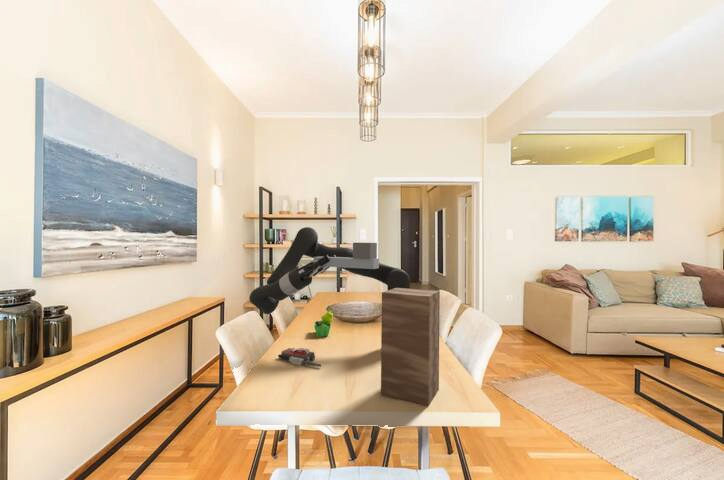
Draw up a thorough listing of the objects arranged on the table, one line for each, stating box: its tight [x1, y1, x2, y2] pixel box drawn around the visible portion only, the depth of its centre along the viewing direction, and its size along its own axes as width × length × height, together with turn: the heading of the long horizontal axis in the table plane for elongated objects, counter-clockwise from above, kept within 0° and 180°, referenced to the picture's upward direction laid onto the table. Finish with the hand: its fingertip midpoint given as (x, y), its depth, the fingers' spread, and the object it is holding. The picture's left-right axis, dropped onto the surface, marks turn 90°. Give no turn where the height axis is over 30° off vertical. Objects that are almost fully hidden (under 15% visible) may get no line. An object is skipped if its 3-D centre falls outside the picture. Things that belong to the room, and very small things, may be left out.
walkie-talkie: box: [277, 347, 322, 367], centre depth 128 cm, size 9×4×20 cm
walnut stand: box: [380, 288, 441, 407], centre depth 102 cm, size 12×14×30 cm
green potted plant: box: [314, 310, 334, 338], centre depth 164 cm, size 11×9×11 cm
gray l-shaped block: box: [313, 242, 380, 269], centre depth 112 cm, size 5×22×8 cm, turn 64°
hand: (331, 257), depth 114 cm, fingers closed on gray l-shaped block, 4 cm apart
